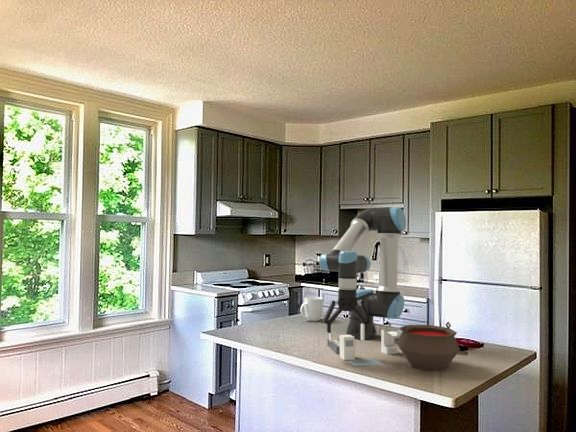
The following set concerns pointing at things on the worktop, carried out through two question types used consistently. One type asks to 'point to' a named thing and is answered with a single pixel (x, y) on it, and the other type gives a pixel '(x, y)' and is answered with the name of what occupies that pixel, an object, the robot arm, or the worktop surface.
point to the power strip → (334, 345)
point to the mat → (365, 362)
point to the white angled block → (387, 343)
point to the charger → (347, 347)
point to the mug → (312, 308)
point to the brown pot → (428, 346)
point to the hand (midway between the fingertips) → (346, 340)
